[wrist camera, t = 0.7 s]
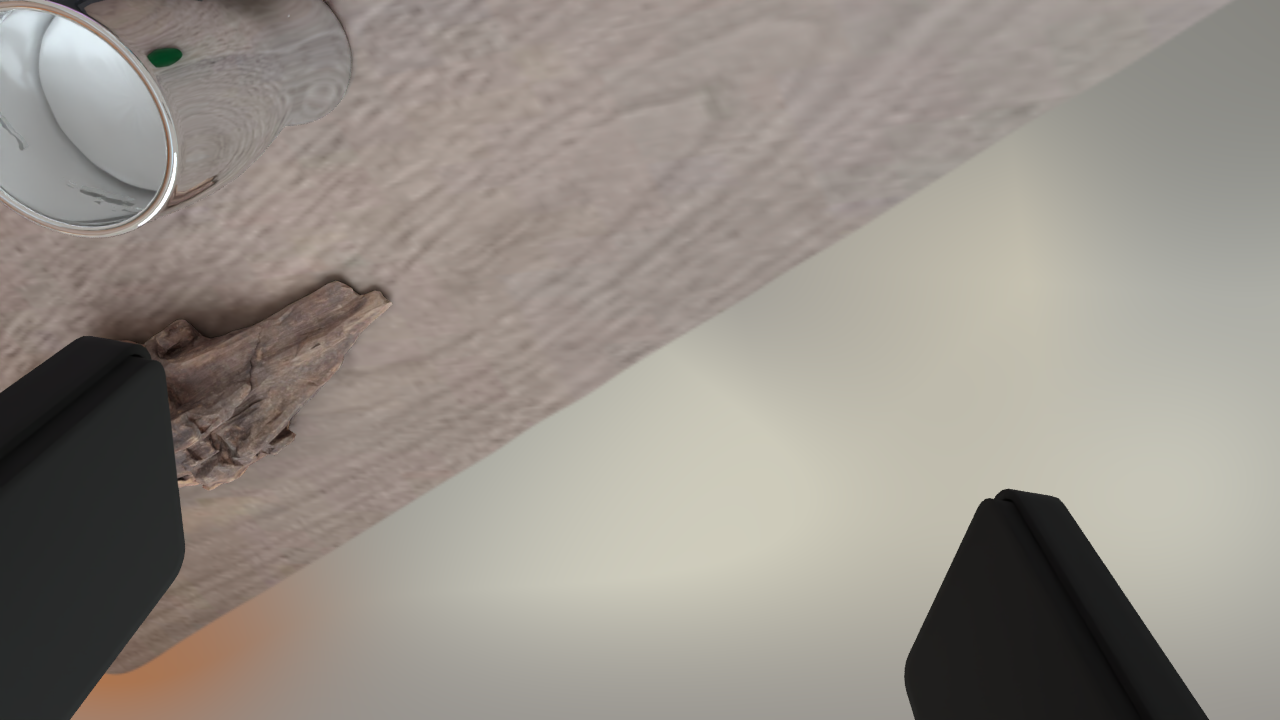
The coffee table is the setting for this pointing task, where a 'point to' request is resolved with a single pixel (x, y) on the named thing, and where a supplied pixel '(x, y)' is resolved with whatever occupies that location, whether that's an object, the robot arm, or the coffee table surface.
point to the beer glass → (152, 101)
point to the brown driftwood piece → (253, 379)
